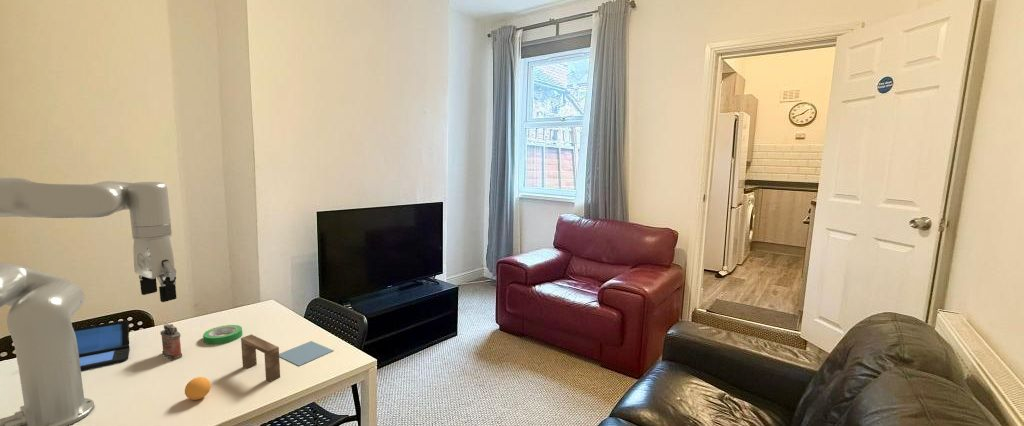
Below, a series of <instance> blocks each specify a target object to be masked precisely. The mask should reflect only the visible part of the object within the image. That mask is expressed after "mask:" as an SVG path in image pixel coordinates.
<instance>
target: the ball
mask: <svg viewBox="0 0 1024 426" xmlns="http://www.w3.org/2000/svg"><path fill="white" fill-rule="evenodd" d="M211 387H212V383H211V381H210V380H209V379H208V378H207V377H205V376H198V377H194V378H192V379H191V380H189V382H187V384H186V385H185V388H184V395H185V397H186V398H188V399H189V400H192V401H197V400H200V399H203V398H205V397H206V396H207V395H208V394H209V392H210V391H211Z"/></svg>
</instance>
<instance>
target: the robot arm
mask: <svg viewBox="0 0 1024 426" xmlns="http://www.w3.org/2000/svg"><path fill="white" fill-rule="evenodd" d="M168 191H169V190H168V187H167V185H166V184H165V183H164V182H160V181H137V182H125V181H124V182H123V181H115V180H113V181H111V180H108V181H107V180H106V181H100V182H96V183H92V184H90V183H89V184H70V183H69V184H67V183H65V184H63V183H62V184H61V183H42V182H36V181H32V180H29V179H26V178H21V177H0V217H1V218H5V217H7V218H8V217H14V218H17V217H18V218H19V217H21V218H38V219H39V218H42V219H87V218H88V219H89V218H91V219H94V218H103V217H108V216H111V215H113V214H115V213H117V212H121V211H126V210H129V217H130V218H129V219H130V225H131V235H132V240H133V246H132V247H133V267H134V268H133V269H134V273H135V274H136V275H138V279H139V283H140V292H141V295H143V296H146V295H150V294H154V293H157V292H158V290H159V299H160V302H161V303H166V302H170V301H173V300H176V299H177V298H178V297H177V290H176V289H177V288H176V284H177V281H176V279H177V276H176V275H177V269H176V268H175V259H174V252H173V251H174V250H173V247H172V243H171V238H170V237H172V236H173V233H172V232H173V231H172V221H171V213H170V203H169V192H168ZM157 280H158V283H159V284H160V286H157ZM85 298H86V297H85V292H84V290H83V288H82V287H81V286H80V285H78V284H77V283H75V282H73V281H71V280H68V279H65V278H62V277H60V276H57V275H53V274H51V273H47V272H43V271H41V270H36V269H35V268H30V267H28V266H25V265H21V264H15V263H10V262H0V308H2V307H4V306H8V307H9V306H11V307H10V308H9V310H8V313H7V316H6V326H7V330H8V333H9V335H10V336H11V339H12V342H13V346H14V350H15V356H16V361H17V365H18V366H17V367H18V371H19V372H18V373H19V379H20V386H21V393H22V394H21V395H22V399H23V400H22V401H23V405H21V406H19V411H16V412H14V414H13V415H9V416H7V417H3V418H0V426H70V425H72V424H74V423H77V422H78V421H80V420H82V419H84V418H85V417H87V416H88V415H90V413H92V411H93V410H94V409H95V402H94V400H93V399H90V398H88V397H86V398H85V392H84V386H83V385H84V384H83V377H82V371H81V368H80V360H79V352H78V346H77V340H76V335H75V332H74V329H73V328H74V327H73V324H72V316H74V314H75V313H76V312H77V311H78V310H80V308H81V307H82V305H83V304H84V301H85Z"/></svg>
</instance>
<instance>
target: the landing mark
mask: <svg viewBox="0 0 1024 426" xmlns="http://www.w3.org/2000/svg"><path fill="white" fill-rule="evenodd" d="M334 350H335V349H331V348H329V347H326V346H324V345H322V344H319V343H317V342H314V341H313V340H310V341H308V342H305V343H303V344H300V345H298V346H296V347H293V348H291V349H287V350H285V351H283V352H279V358H281V359H283V360H285V361H287V362H289V363H291V364H293V365H296V366H298V367H301V366H302V365H304V364H308V363H310V362H312V361H314V360H316V359H319V358H320V357H323V356H326V355H328V354H330V353H332V352H334Z"/></svg>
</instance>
